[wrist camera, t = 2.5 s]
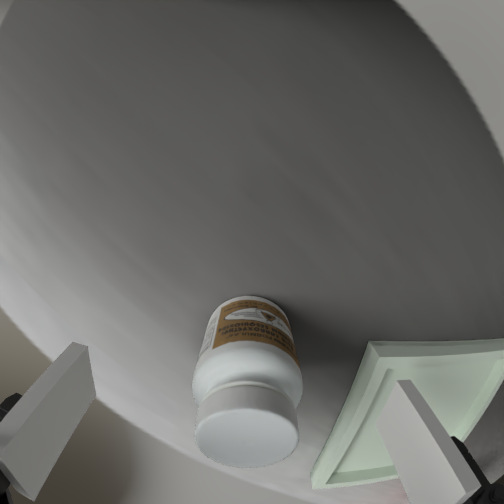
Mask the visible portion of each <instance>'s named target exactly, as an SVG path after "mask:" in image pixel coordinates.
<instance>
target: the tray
mask: <svg viewBox="0 0 504 504" xmlns="http://www.w3.org/2000/svg"><path fill="white" fill-rule="evenodd" d="M397 380H411V381H412V383H413V384H414V385H415V387H416V388H417V390H418V391H419V392H420V394H421V395H422V397H423V398H424V399H425V401H426V402H427V404H428V405H429V407H430V408H431V409H432V411H433V412H434V414H435V415H436V417H437V418H438V420H439V421H440V422H441V424H442V425H443V427H444V428H445V430H446V431H447V433H448V434H449V436H450V437H451V436H455V437H456V438H458V439H459V440H460V441H461V442H464V441H465V439H466V438H467V436H468V435H469V434H470V432H471V431H472V430H473V428H474V427H475V425H476V424H477V422H478V421H479V419H480V418H481V416H482V415H483V413H484V412H485V410H486V409H487V407H488V405H489V404H490V402H491V401H492V399H493V397H494V396H495V394H496V392H497V390H498V389H499V387H500V385H501V383H502V382H503V380H504V338H500V339H485V340H465V341H370V340H369V341H368V344H367V347H366V350H365V353H364V355H363V358H362V361H361V364H360V366H359V369H358V371H357V374H356V377H355V379H354V382H353V384H352V387H351V389H350V391H349V394H348V396H347V399H346V401H345V403H344V406H343V408H342V410H341V412H340V415H339V417H338V419H337V421H336V423H335V426H334V428H333V430H332V432H331V434H330V436H329V438H328V440H327V442H326V444H325V446H324V448H323V450H322V452H321V454H320V456H319V458H318V460H317V462H316V463H315V465H314V467H313V469H312V471H311V473H310V476H311V482H312V488H313V489H325V488H337V487H346V486H354V485H362V484H368V483H375V482H380V481H386V480H391V479H396V478H400V477H399V475H398V473H397V471H396V468H395V466H394V464H393V462H392V459H391V457H390V455H389V453H388V451H387V448H386V446H385V444H384V442H383V440H382V437H381V435H380V433H379V431H378V429H377V427H376V424H375V423H376V422H377V420H378V418H379V416H380V414H381V412H382V410H383V408H384V406H385V404H386V402H387V400H388V398H389V396H390V394H391V392H392V389H393V387H394V385H395V383H396V381H397Z"/></svg>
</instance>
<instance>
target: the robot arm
mask: <svg viewBox="0 0 504 504" xmlns="http://www.w3.org/2000/svg"><path fill="white" fill-rule="evenodd" d="M95 396H96V391H95V386H94V381H93V376H92V370H91V365H90V359H89V352H88V346H85V345H81V344H78V343H75V342H72V343H71V344H70V345H69V346H68V347H67V349H66V350H65V351H64V352H63V353H62V354H61V355H60V356H59V357H58V358H57V359H56V360H55V361H54V362H53V363H52V364H51V365H50V366H49V368H48V369H47V370H46V371H45V372H44V373H43V374H42V375H41V376H40V377H39V378H38V380H37V381H36V382H35V383H34V384H33V385H32V386H31V387H30V388H29V390H28V391H27V392H26V393H25V394H24V395H23V396H22V395H20V394H18V393H15V394H14V395H11V396H10V397H8V398H6V399H5V400H4V401H3V402H2V403H1V405H0V504H13V501H12V498H11V493H10V491H9V489H8V487H9V485H10V483H11V484H12V486H13V487H14V488H15V489H16V490H17V491H18V492H19V493H21V494H23V495H24V496H26V497H28V498H29V499H31V500H33V501H34V500H35V499H36V497H37V495H38V493H39V491H40V489H41V487H42V485H43V484H44V482H45V480H46V478H47V476H48V474H49V473H50V471H51V469H52V468H53V466H54V464H55V462H56V460H57V459H58V457H59V455H60V454H61V452H62V450H63V448H64V447H65V445H66V443H67V442H68V440H69V438H70V437H71V435H72V433H73V432H74V430H75V428H76V427H77V425H78V423H79V422H80V420H81V418H82V417H83V415H84V414H85V412H86V410H87V409H88V407H89V405H90V404H91V402H92V401H93V399H94V398H95ZM375 424H376V427H377V429H378V431H379V433H380V435H381V437H382V440H383V442H384V444H385V446H386V448H387V451H388V453H389V455H390V457H391V459H392V462H393V464H394V466H395V468H396V471H397V473H398V475H399V477H400V480H401V482H402V484H403V487H404V489H405V491H406V494H407V496H408V498H409V501H410V503H411V504H504V486H503V485H501V484H498V483H493V484H490V483H489V481H488V480H487V479H486V477H485V475H484V474H483V472H482V471H481V469H480V468H479V466H478V465H477V463H476V462H475V460H474V459H473V457H472V455H471V454H470V453H468V450H467V448H466V447H465V445H464V444H463V442H461V441H460V440H459V439H458V438H456V437H455V436H451V437H450V436H449V434H448V433H447V431H446V430H445V428H444V427H443V425H442V424H441V422H440V421H439V420H438V418H437V417H436V415H435V414H434V412H433V411H432V409H431V408H430V407H429V405H428V404H427V402H426V401H425V399H424V398H423V397H422V395H421V394H420V392H419V391H418V390H417V388H416V387H415V385H414V384H413V383H412V381H411V380H397V381H396V383H395V385H394V387H393V389H392V392H391V394H390V396H389V398H388V400H387V402H386V404H385V406H384V408H383V410H382V412H381V414H380V416H379V418H378V420H377V422H376V423H375Z"/></svg>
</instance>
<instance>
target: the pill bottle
mask: <svg viewBox="0 0 504 504" xmlns="http://www.w3.org/2000/svg"><path fill="white" fill-rule="evenodd" d="M192 391H193V396H194V399H195V402H196V404H197V406H198V407H199V409H198V413H197V419H196V425H195V432H194V438H195V442H196V445H197V446H198V448H199V449H200V451H201V452H202V453H203V454H204V455H206V456H207V457H208V458H210V459H212V460H214V461H216V462H218V463H221V464H223V465H227V466H231V467H238V468H257V467H265V466H268V465H272V464H275V463H277V462H279V461H281V460H283V459H285V458H286V457H288V456H289V455H290V454H291V453H292V452H293V451H294V450H295V448H296V447H297V445H298V442H299V429H298V421H297V414H296V410H295V409H296V408H297V406H298V405H299V402H300V400H301V397H302V393H303V381H302V374H301V369H300V366H299V362H298V358H297V353H296V350H295V345H294V341H293V336H292V333H291V328H290V324H289V321H288V319H287V317H286V315H285V313H284V312H283V311H282V310H281V309H280V308H279V307H278V306H277V305H276V304H274V303H273V302H271V301H269V300H267V299H264V298H261V297H256V296H241V297H236V298H233V299H230V300H228V301H226V302H224V303H223V304H221V305H220V306H219V307H218V308H217V309H216V310H215V311H214V313H213V314H212V316H211V318H210V320H209V323H208V326H207V329H206V332H205V336H204V340H203V343H202V346H201V350H200V354H199V357H198V361H197V365H196V368H195V372H194V376H193V382H192Z"/></svg>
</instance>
